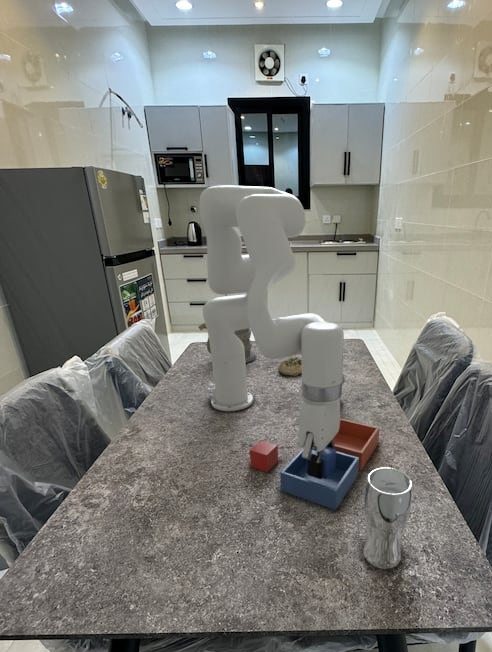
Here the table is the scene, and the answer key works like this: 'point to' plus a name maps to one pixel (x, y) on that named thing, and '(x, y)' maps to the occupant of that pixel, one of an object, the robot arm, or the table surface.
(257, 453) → the red block
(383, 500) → the beer glass
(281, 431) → the table surface
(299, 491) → the blue bin
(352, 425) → the red bin
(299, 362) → the bread roll
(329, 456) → the blue block
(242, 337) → the tankard
